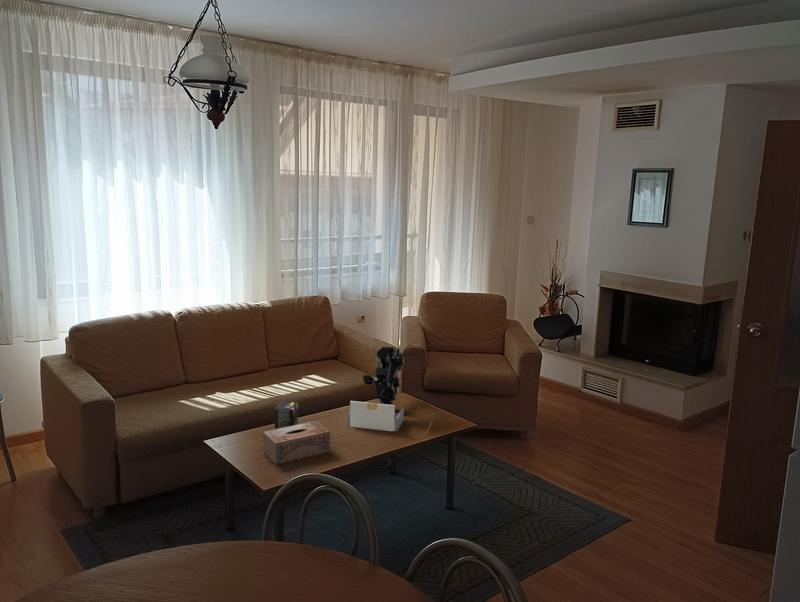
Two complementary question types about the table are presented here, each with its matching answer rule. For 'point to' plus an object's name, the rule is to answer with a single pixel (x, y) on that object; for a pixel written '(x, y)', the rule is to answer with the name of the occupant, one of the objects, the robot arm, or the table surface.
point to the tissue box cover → (296, 441)
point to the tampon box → (286, 414)
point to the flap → (372, 416)
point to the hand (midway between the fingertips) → (378, 395)
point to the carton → (397, 419)
